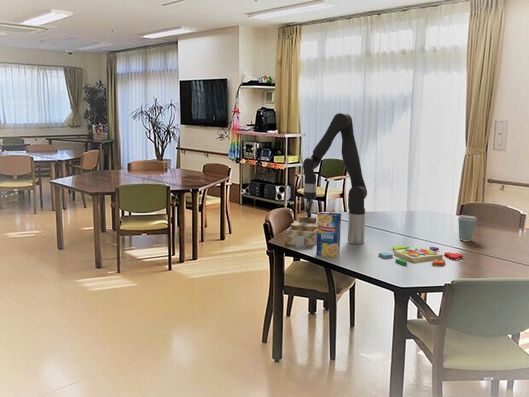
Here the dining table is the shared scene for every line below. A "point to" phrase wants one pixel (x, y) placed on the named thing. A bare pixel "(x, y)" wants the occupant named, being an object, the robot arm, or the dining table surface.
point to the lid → (305, 222)
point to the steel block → (300, 242)
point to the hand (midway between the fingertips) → (309, 219)
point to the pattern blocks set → (419, 255)
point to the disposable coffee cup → (466, 226)
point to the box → (302, 231)
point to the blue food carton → (328, 234)
